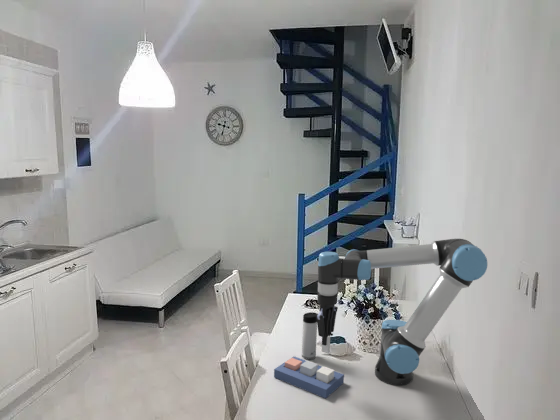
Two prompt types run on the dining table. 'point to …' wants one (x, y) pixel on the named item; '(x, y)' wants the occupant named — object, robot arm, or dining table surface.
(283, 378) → the board
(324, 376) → the key ivory
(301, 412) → the dining table surface
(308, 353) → the travel mug
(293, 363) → the key coral
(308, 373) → the key grey
